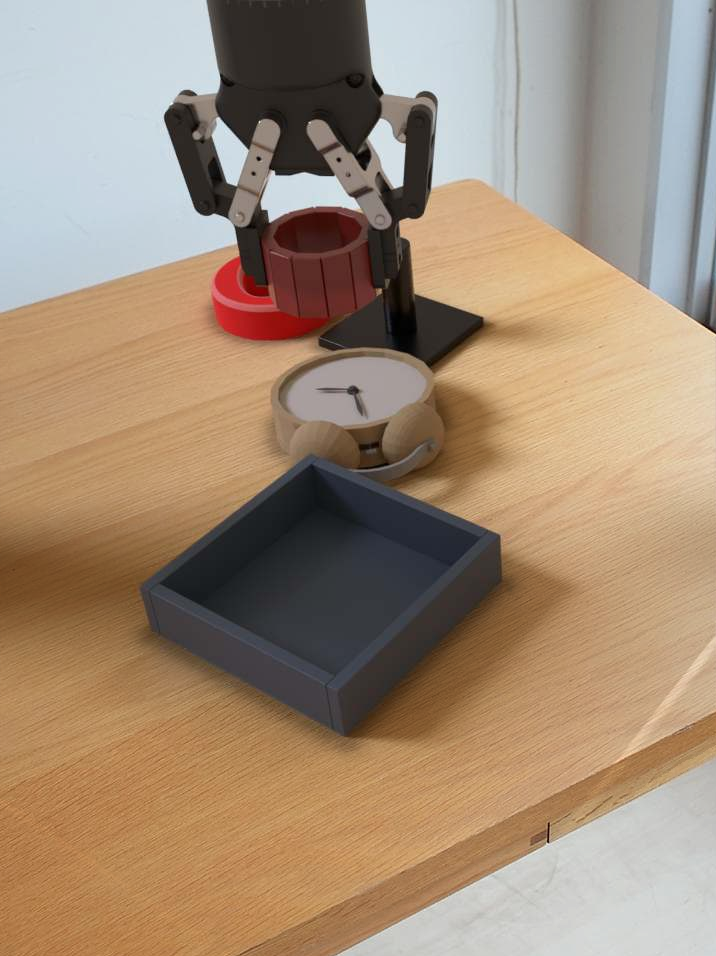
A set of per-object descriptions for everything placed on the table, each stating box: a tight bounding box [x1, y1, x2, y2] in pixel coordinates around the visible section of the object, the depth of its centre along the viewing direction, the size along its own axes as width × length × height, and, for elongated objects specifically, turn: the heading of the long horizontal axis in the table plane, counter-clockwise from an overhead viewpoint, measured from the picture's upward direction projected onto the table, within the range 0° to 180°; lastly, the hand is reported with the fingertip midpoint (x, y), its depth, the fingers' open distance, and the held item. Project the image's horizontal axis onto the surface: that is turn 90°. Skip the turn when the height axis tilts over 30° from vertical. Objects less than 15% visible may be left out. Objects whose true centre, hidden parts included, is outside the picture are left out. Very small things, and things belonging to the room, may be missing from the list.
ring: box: [260, 205, 380, 319], centre depth 72 cm, size 6×6×4 cm
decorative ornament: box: [210, 255, 332, 342], centre depth 104 cm, size 10×10×3 cm
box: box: [139, 453, 503, 738], centre depth 77 cm, size 15×15×4 cm
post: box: [317, 236, 485, 369], centre depth 98 cm, size 9×9×8 cm
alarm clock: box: [269, 348, 445, 484], centre depth 89 cm, size 11×5×15 cm
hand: (323, 279), depth 73 cm, fingers closed on ring, 6 cm apart
